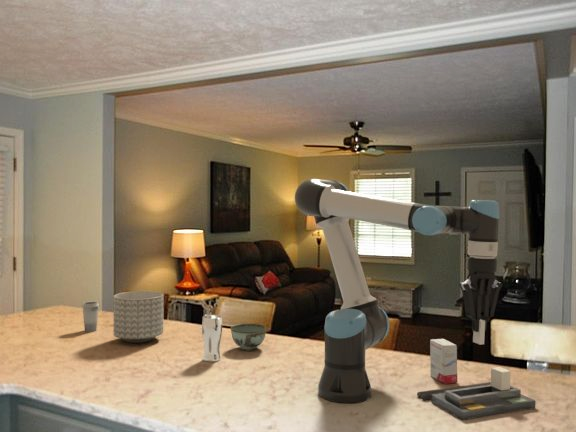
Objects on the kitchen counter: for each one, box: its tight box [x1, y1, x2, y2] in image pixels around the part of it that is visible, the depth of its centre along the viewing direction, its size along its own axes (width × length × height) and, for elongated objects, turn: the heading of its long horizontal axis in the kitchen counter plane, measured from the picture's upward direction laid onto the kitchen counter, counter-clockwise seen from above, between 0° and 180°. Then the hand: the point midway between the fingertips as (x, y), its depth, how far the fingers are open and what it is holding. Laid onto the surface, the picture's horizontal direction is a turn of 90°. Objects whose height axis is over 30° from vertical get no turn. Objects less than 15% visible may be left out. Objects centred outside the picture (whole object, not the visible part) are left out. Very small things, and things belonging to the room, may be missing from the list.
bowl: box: [230, 323, 267, 352], centre depth 194 cm, size 14×13×8 cm
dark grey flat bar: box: [416, 381, 491, 401], centre depth 150 cm, size 27×4×1 cm, turn 111°
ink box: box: [429, 338, 458, 385], centre depth 161 cm, size 9×5×12 cm, turn 13°
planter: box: [113, 290, 165, 344], centre depth 204 cm, size 19×19×18 cm
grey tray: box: [430, 384, 536, 421], centre depth 141 cm, size 24×13×4 cm, turn 111°
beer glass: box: [201, 314, 223, 363], centre depth 180 cm, size 7×7×15 cm
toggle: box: [490, 366, 511, 392], centre depth 143 cm, size 4×4×7 cm
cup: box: [81, 300, 100, 333], centre depth 219 cm, size 7×7×12 cm
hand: (478, 342), depth 140 cm, fingers closed
